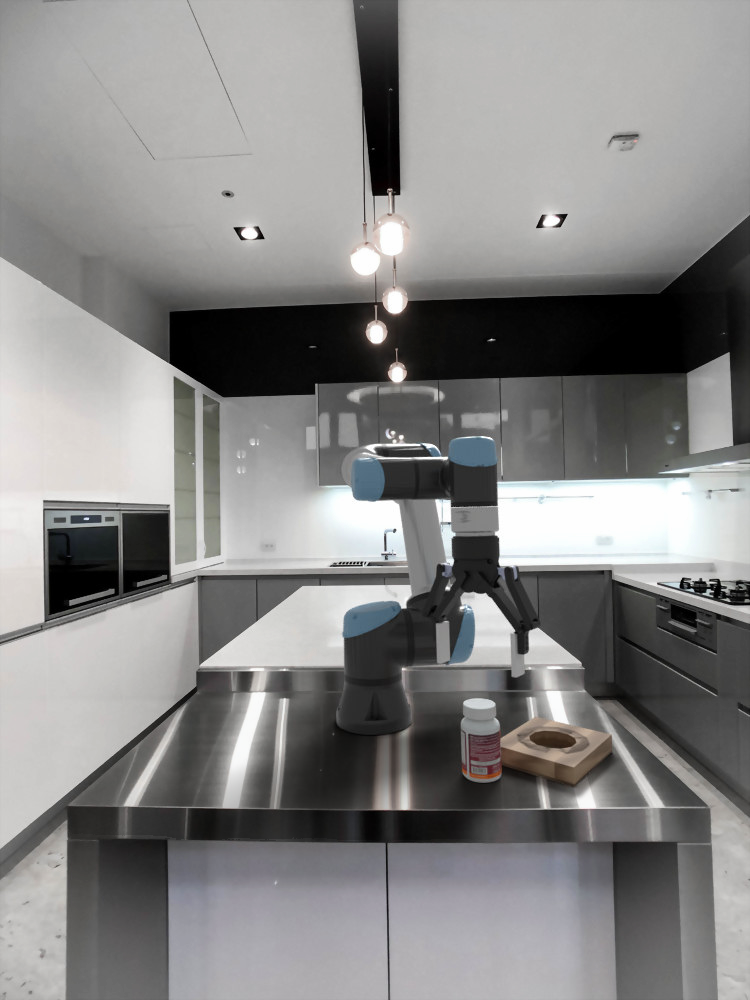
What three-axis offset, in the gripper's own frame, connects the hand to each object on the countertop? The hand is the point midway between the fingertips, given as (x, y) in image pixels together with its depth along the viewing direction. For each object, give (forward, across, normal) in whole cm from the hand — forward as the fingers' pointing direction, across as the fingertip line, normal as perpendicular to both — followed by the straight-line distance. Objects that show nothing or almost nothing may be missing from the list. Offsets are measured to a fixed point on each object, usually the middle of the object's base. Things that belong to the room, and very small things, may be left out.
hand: (479, 668), depth 91 cm
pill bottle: (+17, 0, 0) cm, 17 cm away
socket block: (+17, +6, +13) cm, 22 cm away
